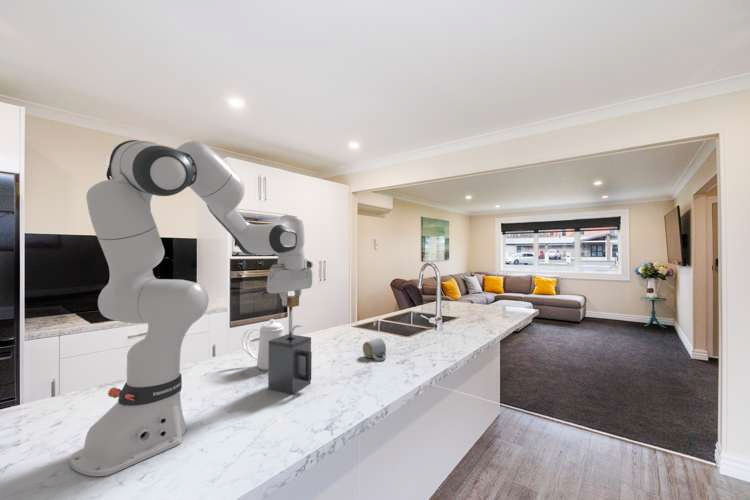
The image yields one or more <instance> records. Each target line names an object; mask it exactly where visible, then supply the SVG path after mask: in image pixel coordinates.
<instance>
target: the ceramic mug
mask: <svg viewBox="0 0 750 500" xmlns="http://www.w3.org/2000/svg"><path fill="white" fill-rule="evenodd" d="M362 352H363V354H364V356H365V357H366V358H367V359H374V360H375V361H377V362H378V361H379V362H382V361H385V360H386V358H387V354H386V352H387V346H386V343H385V341H384V340H383V339H382V338H381V337H378V338H374V339H372V340H371V339H370V340H367V341H366V342H364V344H363V345H362Z"/></svg>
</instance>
